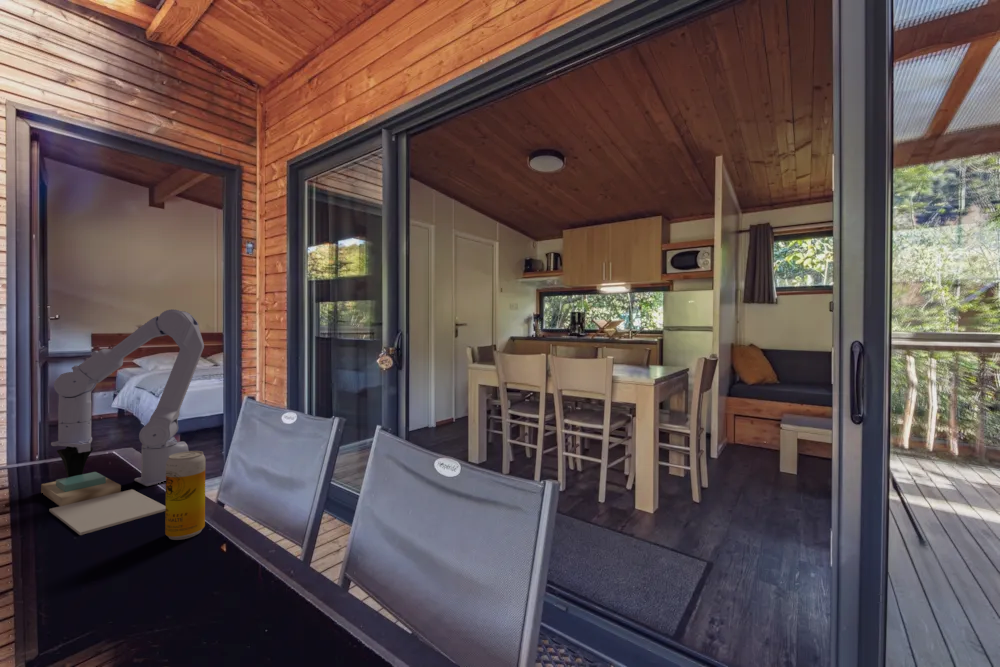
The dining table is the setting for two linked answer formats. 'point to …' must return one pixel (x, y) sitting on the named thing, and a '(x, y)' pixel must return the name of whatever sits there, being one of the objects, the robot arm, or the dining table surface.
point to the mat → (106, 511)
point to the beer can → (185, 495)
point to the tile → (80, 481)
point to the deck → (79, 492)
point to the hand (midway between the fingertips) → (74, 477)
